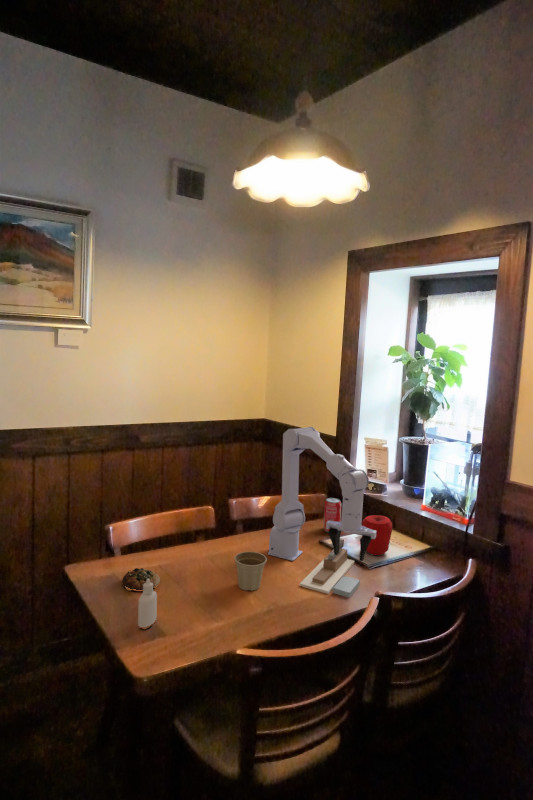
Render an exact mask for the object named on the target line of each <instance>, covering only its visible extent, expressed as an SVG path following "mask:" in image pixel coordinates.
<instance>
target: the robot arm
mask: <svg viewBox="0 0 533 800" xmlns="http://www.w3.org/2000/svg"><path fill="white" fill-rule="evenodd" d="M320 435H321V434H320V432H319V431H318V430H316V428H315V427H313V426H307V427H300V428H288V429H287V430H286V431H284V432H283V434H282V469H281V470H282V473H281V480H282V481H281V500H280V502H278V504H276V505H275V507H274V513H273V516H272V523H273V525H274V526H273V527H272V528H271V530H270V532H269V537H268V538H269V541H268V544H269V545H268V552H267V555H269V556H272V557H276V558H280V559H284V560H289V561H292V562H293V561H295V560H296V559H297V558H298V557H299V556H301V554H303V550H299V545H300V543H299V542H300V530H301V529H302V526H303V525H304V524H305V522H306V515H305V511H304V504H303V503H301V502H300V501H299V485H300V483H299V482H300V481H299V475H300V454H302V453H303V452H304V451H305V450H307V449H308V450H309V449H310V450H312V452H313V453H315V454H316V455H317V456H319V458H321V459H322V461H325V462H326V468H327V470H328V471H330V473H331V474H332V475H333V476H334V477H335V478H336V479H337V480H338V481H339V486H340V489H341V495H342V505H341V520H340V522H336V521H328V522H326V529H330V530H329V532H327V533H328V537H329V539H330V541H331V543H332V544H331V545H332V547H333V549H334V555H337V554H338V553H339V543H340V538H341V534H342V532H343V533H344V534H351V535H352V534H354V535H358V536H361V538H360V539H359V544H360V545H359V546H360V549H359V550H360V551H359V561H360V562H363V561H364V559H365V555H366V554H367V553H366V552H367V551H366V550H367V547H368V545H369V543H370V542H371V540H372V539H375V538H376V531H375V530H372V529H369V528H366V527H364V526H362V521H363V520H362V518H363V508H364V507H363V505H364V504H363V503H364V494H365V493H364V491H365V490H366V489H367V488H368V487H369V484H370V483H369V482H370V480H369V476H368V474H367V472H366V471H365V470H364V469H358V468H356V467H355V466H354V465H352V464H351V463H350V462H349V461H348V460H347V459H346V458H345V455H343V454H340V453H336V454H335V453H334V452H333V451H332V449H331V448H330V447H329V446H328V445H327V444H326V443H325V441H323V439H322V438H321V436H320ZM362 536H363V537H362ZM333 549H332V550H333Z"/></svg>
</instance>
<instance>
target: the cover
mask: <svg viewBox="0 0 533 800" xmlns="http://www.w3.org/2000/svg"><path fill="white" fill-rule="evenodd" d="M360 582H361V581H360V580H359V579H357V578H354V577H349V576H346V575H344V576H343V577H342V578H341V580H340V581H339V582H338V583H337V584H336V585H335V587H334V588H333V589H332V594H335V595H338V596H341V597H345V598H350V597H351V596H353V594H354V593H355V591H356V590H357V589H358V588H359V586H360V584H361V583H360Z"/></svg>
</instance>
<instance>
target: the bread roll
mask: <svg viewBox="0 0 533 800" xmlns="http://www.w3.org/2000/svg"><path fill="white" fill-rule="evenodd" d="M147 579H150V582H151V583H153V588H154V587H156V586H157V585H158V584H160V582H161V578H160V576H159V575H158V574H157V573H156V572H154V571H153V570H150V569H144V567H142V568H137V567H136V568H134V569H133V570H131V571H127V572H126V573H125V574H124V576H123V577H122V579H121V584H122V583H123V585H124V586H126V587H128V588H130V589H136V590H143V584H144V583H146V580H147ZM123 585H122V586H123Z"/></svg>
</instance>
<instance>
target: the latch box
mask: <svg viewBox="0 0 533 800" xmlns="http://www.w3.org/2000/svg"><path fill="white" fill-rule="evenodd" d="M333 550H334V549H332V550H331V552H332V551H333ZM331 552H329V553H328V554H327V555H326V556H325V557H324V558H323V559H322V560H321V561H320V562H319V564H317V565H316V566H315V567H314V569H313V570H311V571H310V572H309V574H308V575H306V576H305V578H303V579H302V581H301V582H300V583H299V586H300V587H301V586H302V588H305V589H310V590H313V591H316V592H320V593H323V594H327V595H329V594H330V593H331V591H333V588H334V587H335V585H336V584H337V583H338V582H339V581H340V580H341V579H342V578H343V576H346V574H347V573H348V571H349V570H350V569H351V568H352V566H353V565H354V564H355V560H353V559H349V558H348V549H347V548H342V551H341V552H340V553H339V554H338V555H337V556H336V557H335V558H334V559H333V560H330V559H328V555H329V554H330V553H331Z"/></svg>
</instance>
